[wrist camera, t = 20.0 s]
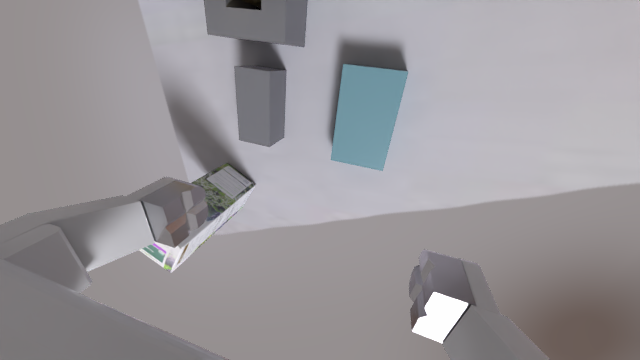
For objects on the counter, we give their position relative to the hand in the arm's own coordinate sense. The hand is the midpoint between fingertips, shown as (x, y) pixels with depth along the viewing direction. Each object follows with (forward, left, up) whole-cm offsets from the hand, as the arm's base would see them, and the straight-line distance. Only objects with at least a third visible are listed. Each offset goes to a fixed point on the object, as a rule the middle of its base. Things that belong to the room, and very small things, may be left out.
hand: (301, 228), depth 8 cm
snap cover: (0, 0, -21) cm, 21 cm away
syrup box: (+14, -18, -21) cm, 31 cm away
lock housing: (-5, -12, -20) cm, 24 cm away
